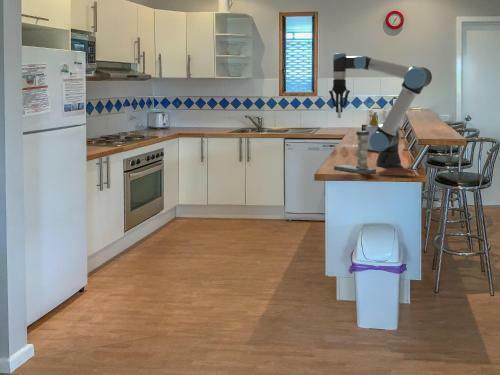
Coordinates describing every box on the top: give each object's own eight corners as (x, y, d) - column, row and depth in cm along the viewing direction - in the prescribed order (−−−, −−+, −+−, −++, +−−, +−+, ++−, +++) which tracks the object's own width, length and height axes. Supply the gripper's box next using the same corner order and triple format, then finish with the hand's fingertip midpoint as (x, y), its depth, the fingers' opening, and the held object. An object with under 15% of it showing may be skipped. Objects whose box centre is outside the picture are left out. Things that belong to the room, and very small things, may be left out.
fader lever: (355, 168, 415) (356, 131, 411) (362, 167, 418) (362, 131, 414) (362, 169, 411) (362, 132, 407) (368, 168, 414) (368, 131, 410)
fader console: (333, 169, 427) (333, 165, 427) (344, 167, 433) (344, 164, 432) (364, 174, 407) (364, 170, 406) (375, 172, 412) (376, 168, 411)
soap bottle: (370, 148, 526) (371, 114, 522) (381, 149, 521) (382, 115, 517) (364, 150, 520) (365, 115, 515) (375, 151, 514) (376, 115, 510)
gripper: (348, 78, 438) (348, 117, 442) (327, 79, 437) (327, 117, 441) (351, 78, 431) (351, 118, 435) (330, 79, 430) (329, 118, 434)
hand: (339, 117), depth 438 cm, fingers closed
